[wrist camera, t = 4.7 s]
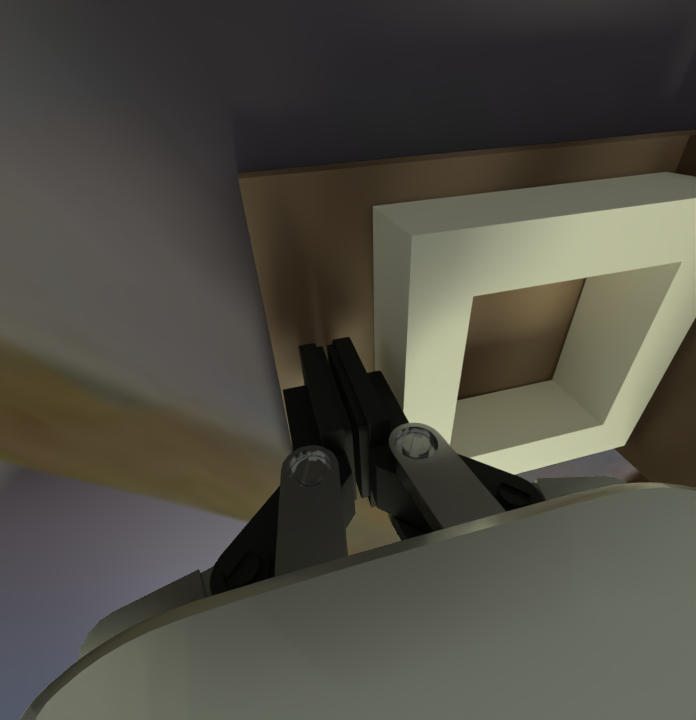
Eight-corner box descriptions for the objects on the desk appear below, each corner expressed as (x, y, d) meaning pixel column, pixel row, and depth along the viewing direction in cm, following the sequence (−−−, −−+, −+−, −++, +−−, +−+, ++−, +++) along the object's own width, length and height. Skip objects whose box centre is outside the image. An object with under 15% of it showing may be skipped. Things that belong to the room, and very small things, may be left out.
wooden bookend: (709, 127, 13) (1171, 155, 7) (594, 392, 20) (764, 530, 14) (237, 172, 10) (243, 293, 4) (295, 461, 17) (332, 674, 11)
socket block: (666, 171, 12) (767, 188, 10) (574, 401, 18) (624, 445, 16) (372, 206, 11) (412, 235, 8) (375, 447, 16) (399, 504, 14)
